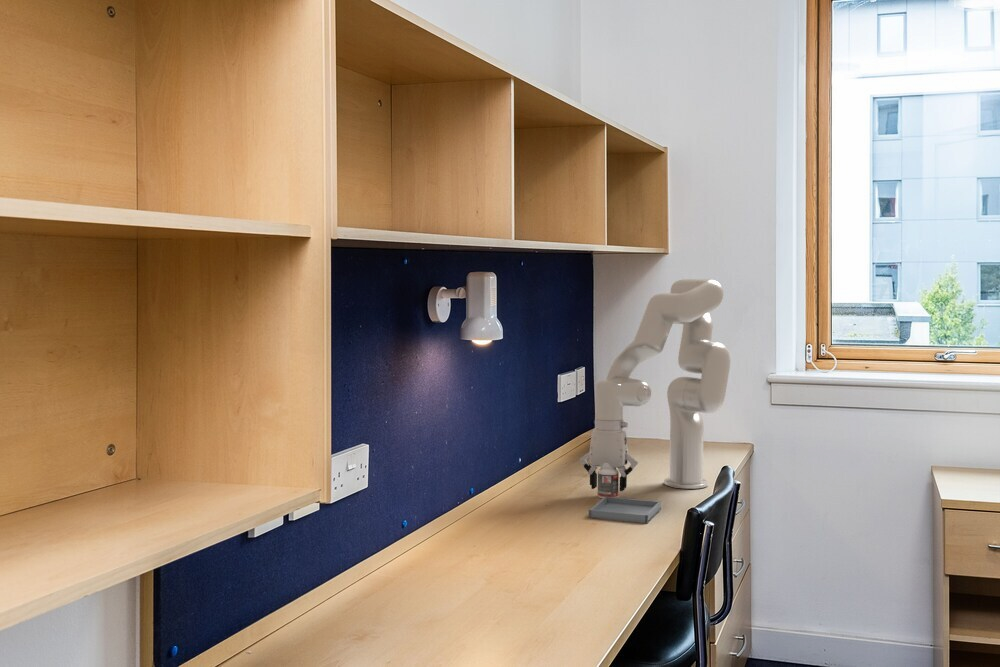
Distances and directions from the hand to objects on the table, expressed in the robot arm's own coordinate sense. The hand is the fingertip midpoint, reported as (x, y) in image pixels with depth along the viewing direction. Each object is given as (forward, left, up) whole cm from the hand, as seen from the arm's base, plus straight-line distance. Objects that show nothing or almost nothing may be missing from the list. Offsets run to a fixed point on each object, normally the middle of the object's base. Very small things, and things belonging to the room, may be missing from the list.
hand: (608, 488), depth 267 cm
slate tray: (+16, +9, -2) cm, 19 cm away
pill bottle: (0, 0, -3) cm, 3 cm away
